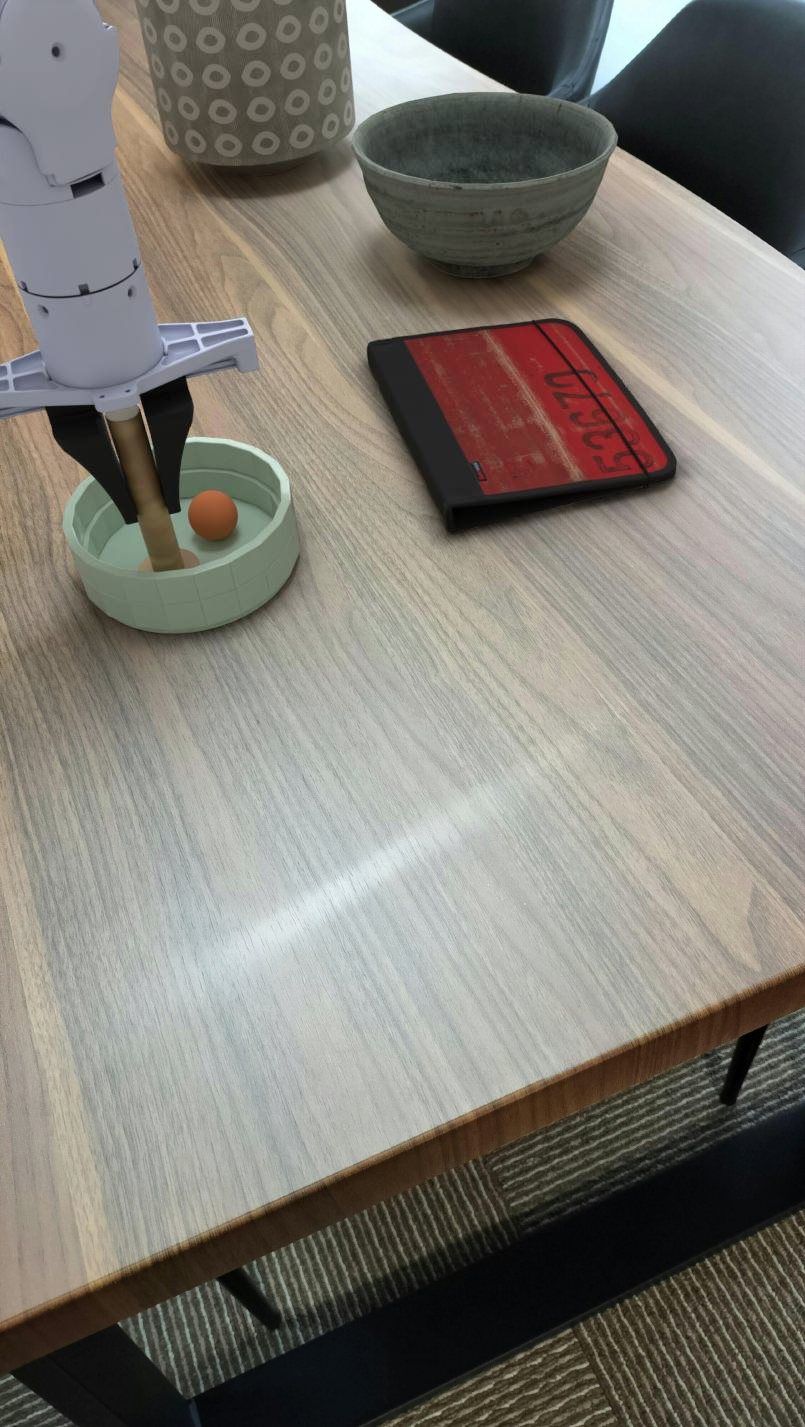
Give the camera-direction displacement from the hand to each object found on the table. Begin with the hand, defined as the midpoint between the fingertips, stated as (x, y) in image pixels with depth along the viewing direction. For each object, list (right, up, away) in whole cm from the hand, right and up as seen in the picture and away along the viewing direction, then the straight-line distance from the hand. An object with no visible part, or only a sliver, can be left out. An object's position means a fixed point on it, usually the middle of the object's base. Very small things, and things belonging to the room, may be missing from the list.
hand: (150, 508), depth 57 cm
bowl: (+21, +27, +31) cm, 46 cm away
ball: (+2, +1, +5) cm, 6 cm away
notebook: (+22, +9, +14) cm, 27 cm away
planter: (0, +45, +47) cm, 65 cm away
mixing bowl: (+1, -2, +6) cm, 6 cm away
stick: (0, -3, +4) cm, 5 cm away
